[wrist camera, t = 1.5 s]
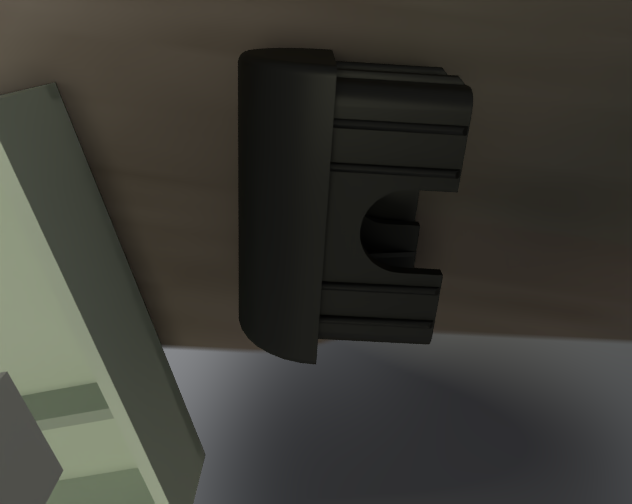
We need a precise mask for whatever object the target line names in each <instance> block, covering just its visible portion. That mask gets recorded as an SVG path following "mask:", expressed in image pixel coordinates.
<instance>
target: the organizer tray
mask: <svg viewBox="0 0 632 504" xmlns="http://www.w3.org/2000/svg"><path fill="white" fill-rule="evenodd" d="M6 371H7V372H8V374H9V375H10V377H11V379H12V381H13V382H14V384H15V386H16V388H17V389H18V391H19V393H20V395H21V396H22V398H23V400H24V402H25V403H26V405H27V407H28V409H29V410H30V412H31V414H32V416H33V417H34V419H35V421H36V423H37V424H38V426H39V428H40V430H41V431H42V433H43V435H44V437H45V439H46V440H47V442H48V444H49V446H50V447H51V449H52V451H53V453H54V454H55V456H56V458H57V460H58V461H59V463H60V465H61V467H62V468H63V472H62V474H61V476H60V478H59V480H58V482H57V484H56V485H55V487H54V489H53V491H52V493H51V495H50V497H49V499H48V501H47V502H46V504H193V502H194V498H195V494H196V490H197V486H198V482H199V478H200V474H201V470H202V466H203V462H204V458H205V453H204V450H203V447H202V445H201V442H200V440H199V437H198V435H197V433H196V430H195V428H194V425H193V423H192V421H191V418H190V415H189V413H188V411H187V408H186V406H185V403H184V400H183V398H182V395H181V393H180V390H179V388H178V385H177V383H176V381H175V378H174V376H173V373H172V371H171V368H170V366H169V363H168V361H167V358H166V356H165V353H164V351H163V348H162V346H161V343H160V341H159V338H158V336H157V334H156V331H155V329H154V326H153V324H152V321H151V319H150V316H149V314H148V311H147V309H146V306H145V304H144V301H143V299H142V296H141V294H140V291H139V289H138V286H137V284H136V282H135V279H134V277H133V274H132V272H131V269H130V267H129V264H128V262H127V259H126V257H125V254H124V252H123V249H122V247H121V244H120V242H119V239H118V237H117V234H116V232H115V230H114V227H113V225H112V222H111V220H110V217H109V215H108V212H107V210H106V207H105V205H104V202H103V200H102V197H101V195H100V192H99V190H98V187H97V185H96V182H95V180H94V178H93V175H92V173H91V170H90V168H89V165H88V163H87V160H86V158H85V155H84V153H83V150H82V148H81V145H80V143H79V140H78V138H77V135H76V133H75V130H74V128H73V126H72V123H71V121H70V118H69V116H68V113H67V111H66V108H65V106H64V103H63V101H62V98H61V96H60V93H59V91H58V88H57V86H56V83H55V82H54V83H50V84H46V85H41V86H37V87H33V88H29V89H24V90H20V91H16V92H12V93H7V94H3V95H0V373H1V372H6Z"/></svg>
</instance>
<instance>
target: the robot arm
mask: <svg viewBox="0 0 632 504" xmlns="http://www.w3.org/2000/svg"><path fill="white" fill-rule="evenodd" d="M62 472H63V468H62V467H61V465H60V463H59V461H58V460H57V458H56V456H55V454H54V453H53V451H52V449H51V447H50V446H49V444H48V442H47V440H46V439H45V437H44V435H43V433H42V431H41V430H40V428H39V426H38V424H37V423H36V421H35V419H34V417H33V416H32V414H31V412H30V410H29V409H28V407H27V405H26V403H25V402H24V400H23V398H22V396H21V395H20V393H19V391H18V389H17V388H16V386H15V384H14V382H13V381H12V379H11V377H10V375H9V374H8V372H7V371H6V372H1V373H0V504H46V502H47V501H48V499H49V497H50V495H51V493H52V491H53V489H54V487H55V485H56V484H57V482H58V480H59V478H60V476H61V474H62Z"/></svg>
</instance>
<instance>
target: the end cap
mask: <svg viewBox="0 0 632 504" xmlns="http://www.w3.org/2000/svg"><path fill="white" fill-rule="evenodd" d="M472 107H473V93H472V89H471V88H470V87H469V86H467V85H465V84H464V83H463V81H462V80H461V79H460V77H459V76H455V75H447V73H446V72H445V71H444V69H443V68H439V67H423V66H407V65H391V64H374V63H358V62H342V61H335V58H334V54H333V51H332V50H326V49H304V48H266V49H254V50H248V51H245V52H243V53H242V54H241V55H240V57H239V60H238V204H239V321H240V325H241V328H242V330H243V331H244V333H245V334H246V336H247V337H248V338H249V339H250V340H251V341H252V342H253V343H254V344H255V345H257V346H258V347H259V348H261V349H263V350H265V351H266V352H268V353H270V354H272V355H275V356H278V357H280V358H283V359H286V360H290V361H295V362H299V363H307V364H316V358H317V344H318V339H331V340H352V341H372V342H391V343H410V344H412V343H413V344H430V342H431V339H432V334H433V328H434V323H435V317H436V311H437V306H438V300H439V294H440V289H441V283H442V278H443V275H442V272H441V270H440V269H423V268H414V262H415V255H416V249H417V242H418V236H419V229H420V225H419V223H418V222H415V216H416V210H417V203H418V196H419V190H425V191H443V192H458V188H459V182H460V176H461V171H462V165H463V159H464V154H465V148H466V142H467V137H468V131H469V126H470V120H471V114H472Z"/></svg>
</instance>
